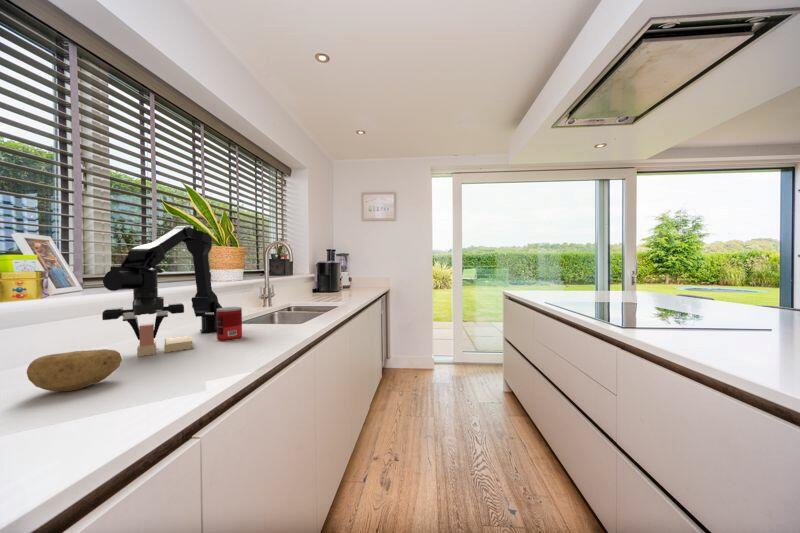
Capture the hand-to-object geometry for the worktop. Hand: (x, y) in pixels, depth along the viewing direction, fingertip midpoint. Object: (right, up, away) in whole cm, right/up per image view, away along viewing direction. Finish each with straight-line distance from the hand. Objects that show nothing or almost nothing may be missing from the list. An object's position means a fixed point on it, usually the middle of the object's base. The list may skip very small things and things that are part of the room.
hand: (146, 338), depth 92 cm
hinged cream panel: (+6, -4, +5) cm, 9 cm away
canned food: (+17, -4, +16) cm, 23 cm away
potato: (+9, -4, -28) cm, 29 cm away
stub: (0, -4, 0) cm, 4 cm away
